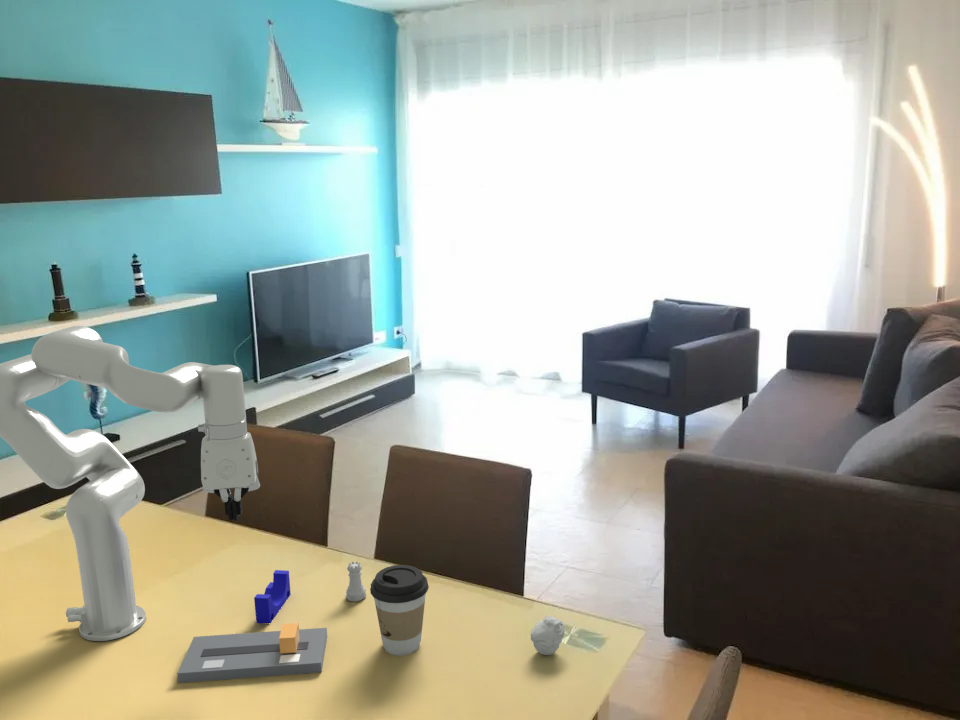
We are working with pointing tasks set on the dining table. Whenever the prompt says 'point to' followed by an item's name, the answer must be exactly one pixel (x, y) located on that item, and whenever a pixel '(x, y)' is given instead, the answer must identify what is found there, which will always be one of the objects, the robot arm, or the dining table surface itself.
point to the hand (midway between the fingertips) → (234, 517)
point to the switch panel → (251, 656)
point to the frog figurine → (548, 635)
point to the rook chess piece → (355, 583)
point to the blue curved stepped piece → (272, 597)
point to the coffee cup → (400, 607)
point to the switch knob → (289, 638)
